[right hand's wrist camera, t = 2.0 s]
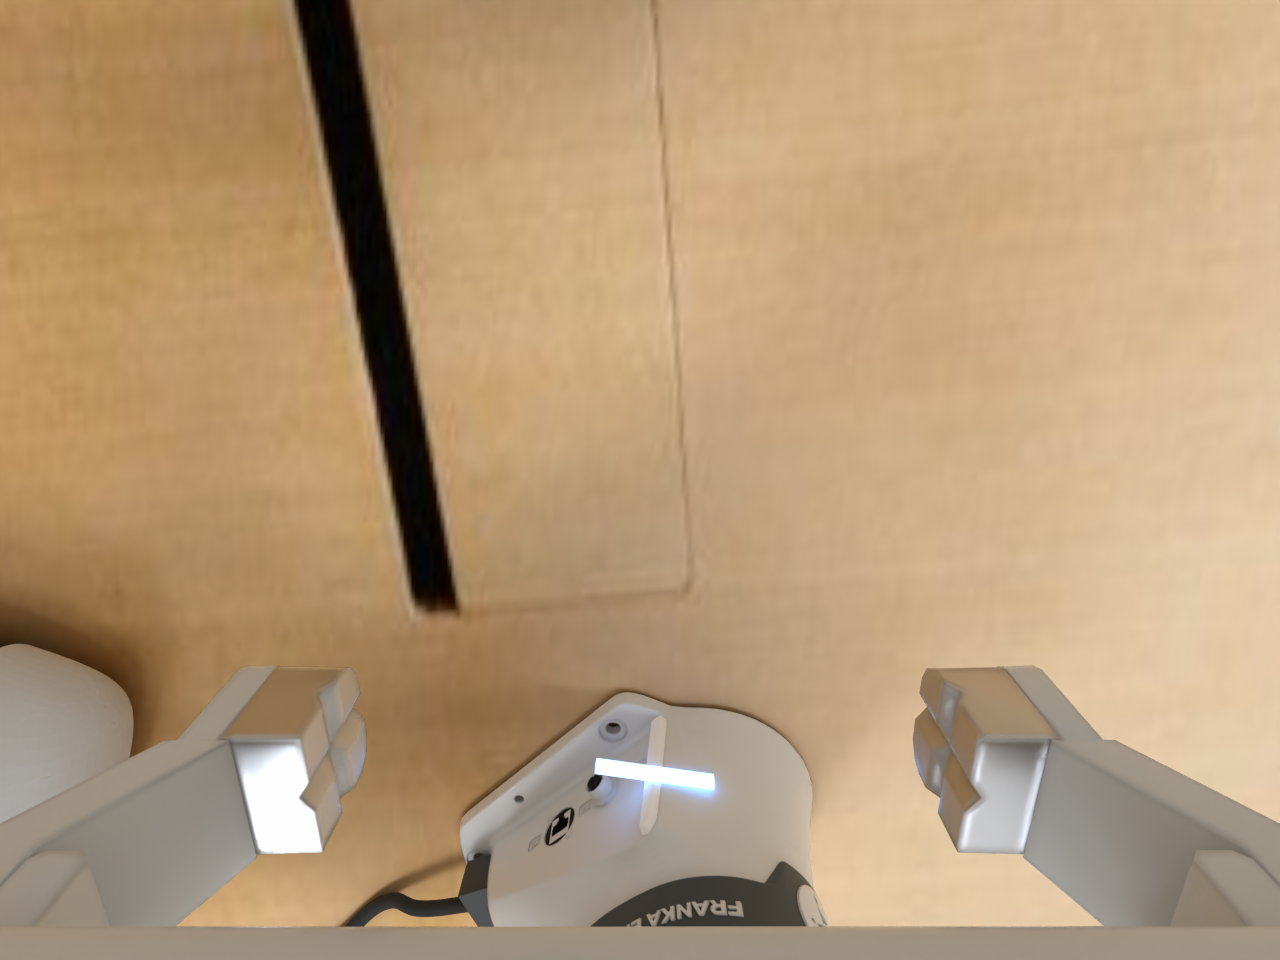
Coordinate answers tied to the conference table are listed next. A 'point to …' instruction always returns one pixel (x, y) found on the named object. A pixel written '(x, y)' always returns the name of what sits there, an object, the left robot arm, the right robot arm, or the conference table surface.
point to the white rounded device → (55, 726)
